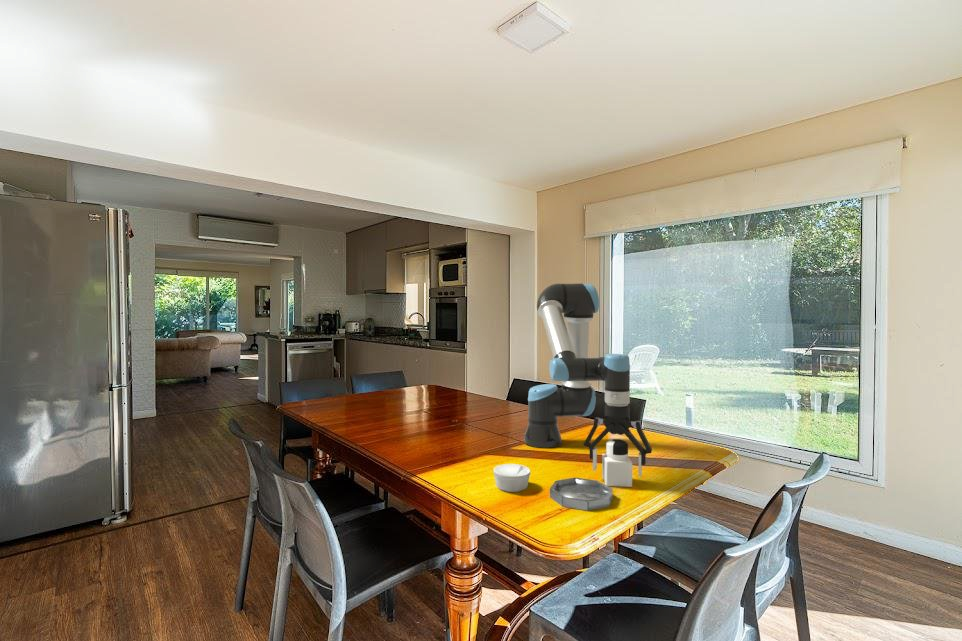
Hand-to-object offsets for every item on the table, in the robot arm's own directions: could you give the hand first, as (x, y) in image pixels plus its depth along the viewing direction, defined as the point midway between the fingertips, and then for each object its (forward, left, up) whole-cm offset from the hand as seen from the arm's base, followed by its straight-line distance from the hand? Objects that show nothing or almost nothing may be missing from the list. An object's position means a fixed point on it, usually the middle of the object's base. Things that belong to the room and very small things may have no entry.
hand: (617, 472), depth 141 cm
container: (0, 0, -3) cm, 3 cm away
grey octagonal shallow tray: (-8, -16, -3) cm, 18 cm away
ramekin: (-29, -16, -4) cm, 33 cm away
